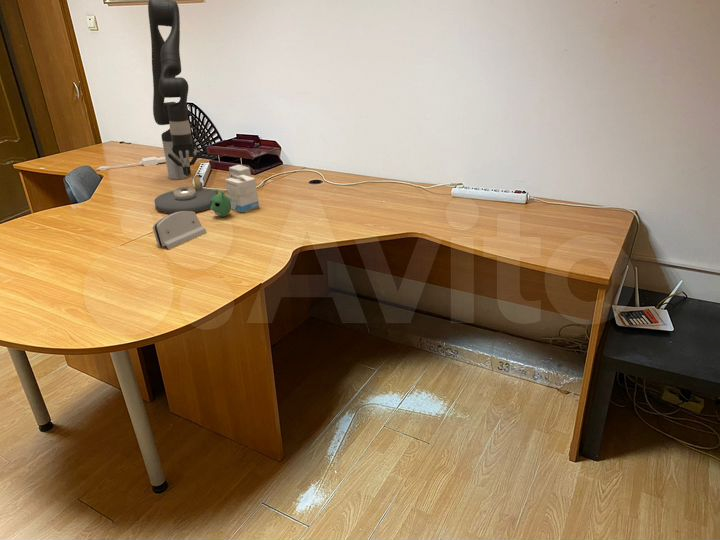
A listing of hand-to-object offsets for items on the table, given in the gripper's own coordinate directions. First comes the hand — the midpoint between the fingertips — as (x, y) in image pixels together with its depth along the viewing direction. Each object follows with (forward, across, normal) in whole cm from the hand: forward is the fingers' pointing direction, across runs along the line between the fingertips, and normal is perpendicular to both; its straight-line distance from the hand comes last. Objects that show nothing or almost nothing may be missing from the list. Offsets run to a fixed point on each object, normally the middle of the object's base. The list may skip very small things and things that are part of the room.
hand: (187, 175), depth 204 cm
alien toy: (+8, -10, +29) cm, 32 cm away
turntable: (+9, +2, +11) cm, 14 cm away
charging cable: (+11, +25, -62) cm, 68 cm away
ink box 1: (+9, -20, +6) cm, 23 cm away
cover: (+6, +2, +11) cm, 12 cm away
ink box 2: (+9, -19, +23) cm, 31 cm away
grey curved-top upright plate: (+8, +5, +47) cm, 48 cm away
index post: (+9, -4, -3) cm, 10 cm away
